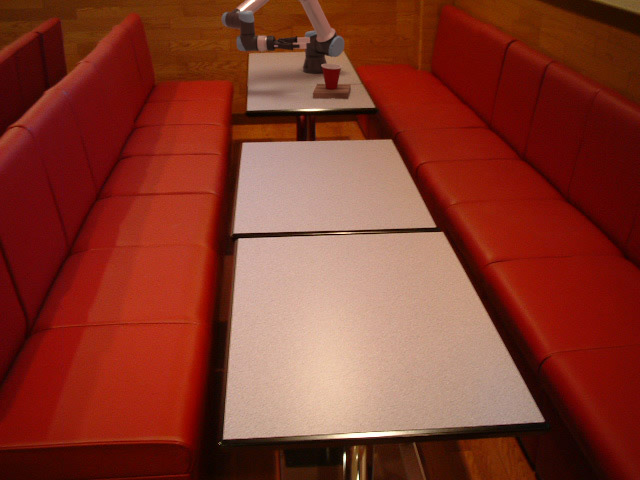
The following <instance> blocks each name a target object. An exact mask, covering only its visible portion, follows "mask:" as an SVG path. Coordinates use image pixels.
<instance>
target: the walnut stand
mask: <svg viewBox="0 0 640 480" xmlns="http://www.w3.org/2000/svg"><path fill="white" fill-rule="evenodd" d="M351 87H352V85H351V84H350V83H338V86H337V89H333V90H329V89H326V86H325V83H316V86H314V90H313V92H312V98H313V99H323V100H326V99H327V100H329V98H330V99H331V98H335V99H336V100H341V99H342V100H346V99H347V100H348V99H349V97H350V93H351V90H352V88H351ZM335 99H334V100H335Z"/></svg>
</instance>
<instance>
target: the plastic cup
mask: <svg viewBox="0 0 640 480" xmlns="http://www.w3.org/2000/svg"><path fill="white" fill-rule="evenodd" d="M321 66H322V69H323V73H322V74H323V79H324V84H325V86H326V89H329V90H333V89H337V86H338V84H339V80H340V74H341V70H342V68H343V66H342V65H341V64H337V63H327V64H322V65H321Z"/></svg>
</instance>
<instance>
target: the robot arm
mask: <svg viewBox="0 0 640 480" xmlns="http://www.w3.org/2000/svg"><path fill="white" fill-rule="evenodd" d="M269 1H270V0H244V1H243V2H242V3H240V4H239V5H237V7H236V8H234V9H233V10H232V11H226V12H224V13H223V14H222V15H221V23H222V25H223V26H225V27H226V28H229V29H236V30H238V31H239V33H240V34H239V35H237V37H236V48H237V50H238V51H239V52H240V51H241V52H242V51H243V52H261V53H263V52H266V51H269V52H274V51H276V49H281V50H287V51H288V50H289V51H292V52H293V51H294V50H305V51H304V52H305V56H304V57H305V58H304V61H303V65H302V71H303V72H304V73H307V74H309V73H310V74H323V69H322V66H321V65H322V64H328V61H327V59H326V56H328V57H330V58H336V57H339V56H341V55H342V53H343V52H344V49H345V40H344V37H342V36H341V35H338V34H337V32H336V29H335V28H333V27H331V25H330V22H329V21H328V19H327V17H326V15H325V13H324V11H323V9H322V7H321V4H320V2H319V1H318V0H297V1H298V2H300V4H301V5H302V8H303V10H304V11H305V13H306V16H307V18H308V20H309V21H310V24H311V25H312V28H313V29H314V30H310V31H306V32H305V34H304V37H298V35H295V36H291V37H279V38H277V39H276V36H275V35H256V29H255V26H256V25H255V17H254V16H255V15H254V14H255V13H256V12H257V11H258V10H260V9H261V8H262V7H263V6H264V5H266V4H267V3H268V2H269Z"/></svg>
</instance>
